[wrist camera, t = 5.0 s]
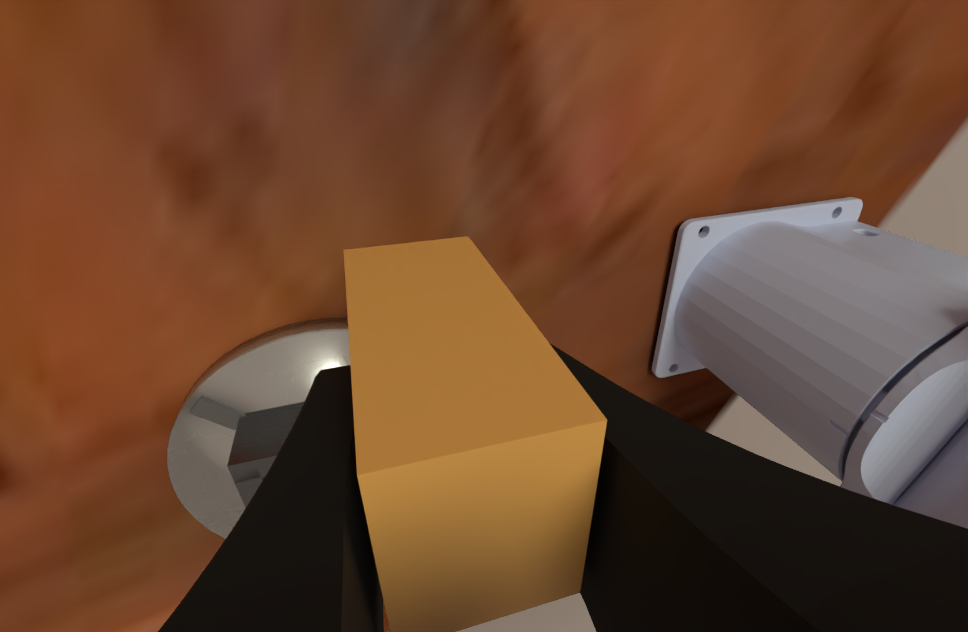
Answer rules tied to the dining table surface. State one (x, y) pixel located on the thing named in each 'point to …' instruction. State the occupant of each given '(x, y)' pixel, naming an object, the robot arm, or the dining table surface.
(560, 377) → the orange square peg
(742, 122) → the dining table surface
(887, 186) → the dining table surface
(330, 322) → the square-hole metal disc
